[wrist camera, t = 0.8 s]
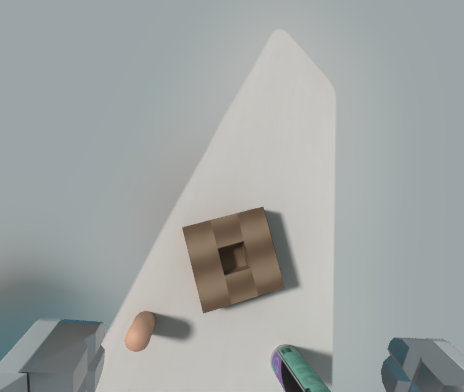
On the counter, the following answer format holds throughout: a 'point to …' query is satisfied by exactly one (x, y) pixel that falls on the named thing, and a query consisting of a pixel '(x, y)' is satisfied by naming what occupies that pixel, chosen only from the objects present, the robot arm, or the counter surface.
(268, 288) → the bore block
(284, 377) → the spray can
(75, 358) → the robot arm
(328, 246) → the counter surface
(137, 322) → the pin
